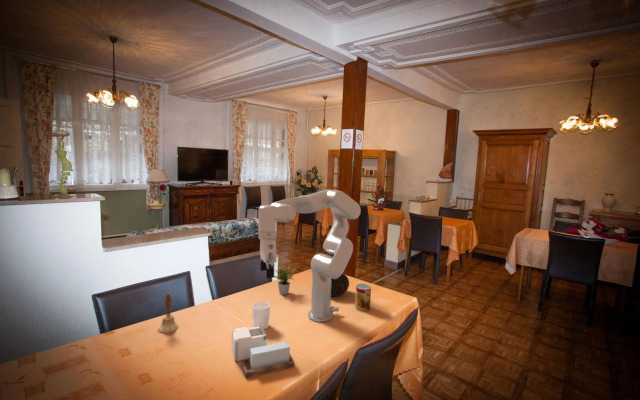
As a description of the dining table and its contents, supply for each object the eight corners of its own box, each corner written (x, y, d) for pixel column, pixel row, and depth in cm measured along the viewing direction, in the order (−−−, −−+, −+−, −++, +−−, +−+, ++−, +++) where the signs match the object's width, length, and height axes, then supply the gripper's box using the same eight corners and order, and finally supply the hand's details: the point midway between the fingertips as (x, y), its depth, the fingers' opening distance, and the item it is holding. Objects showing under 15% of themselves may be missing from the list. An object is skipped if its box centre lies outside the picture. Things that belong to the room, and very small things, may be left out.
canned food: (368, 312, 162) (369, 290, 160) (353, 309, 164) (354, 287, 163) (371, 306, 169) (372, 285, 168) (356, 303, 172) (357, 282, 170)
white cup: (265, 331, 139) (266, 310, 138) (249, 329, 141) (249, 308, 140) (272, 323, 147) (272, 303, 146) (256, 321, 148) (256, 301, 147)
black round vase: (320, 286, 195) (322, 242, 192) (349, 288, 193) (351, 244, 190) (316, 297, 178) (318, 249, 175) (347, 300, 175) (350, 252, 172)
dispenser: (261, 344, 129) (262, 324, 128) (266, 355, 122) (266, 333, 121) (231, 350, 125) (232, 329, 124) (234, 361, 117) (235, 339, 116)
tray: (287, 354, 123) (287, 349, 123) (294, 366, 116) (294, 361, 116) (241, 364, 116) (241, 359, 116) (245, 377, 109) (245, 372, 108)
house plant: (295, 299, 174) (295, 271, 172) (270, 298, 174) (271, 270, 173) (297, 289, 188) (298, 263, 187) (274, 288, 188) (275, 262, 187)
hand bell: (182, 326, 141) (182, 292, 140) (166, 335, 134) (166, 299, 132) (169, 322, 145) (169, 288, 143) (153, 330, 137) (152, 295, 135)
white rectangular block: (286, 356, 121) (286, 341, 120) (289, 362, 117) (289, 346, 116) (249, 363, 115) (250, 348, 114) (252, 370, 111) (252, 354, 111)
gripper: (282, 238, 125) (281, 279, 127) (270, 229, 141) (270, 266, 142) (264, 239, 122) (263, 282, 124) (254, 230, 137) (253, 268, 139)
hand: (267, 273), depth 133 cm, fingers open, 9 cm apart
